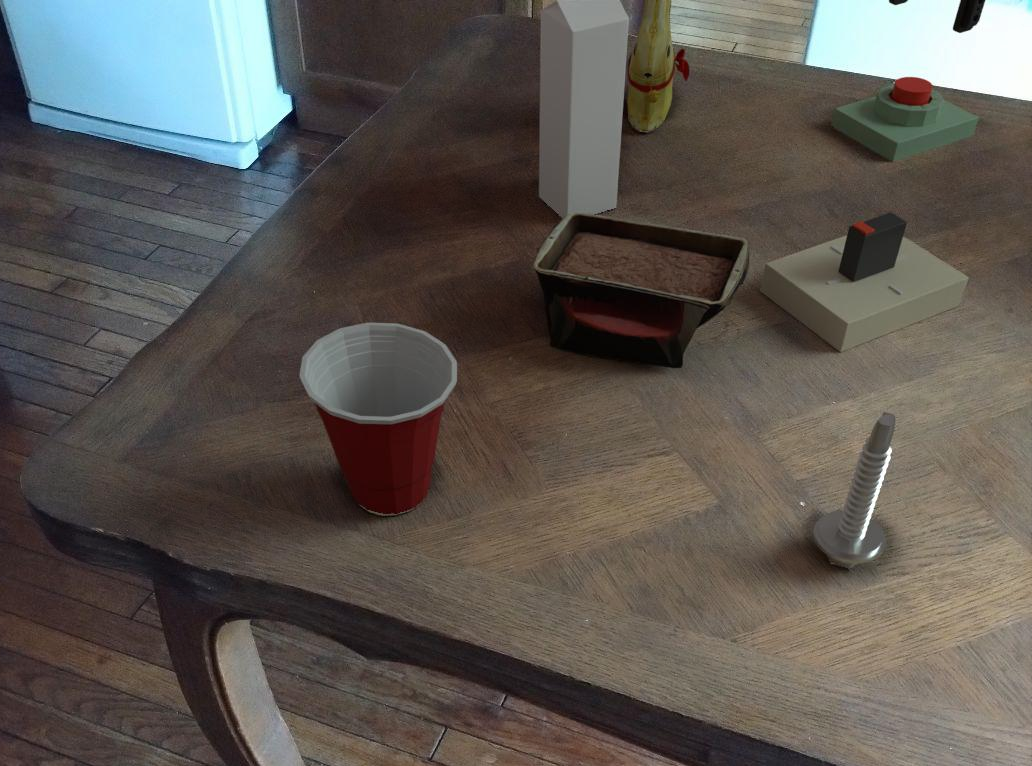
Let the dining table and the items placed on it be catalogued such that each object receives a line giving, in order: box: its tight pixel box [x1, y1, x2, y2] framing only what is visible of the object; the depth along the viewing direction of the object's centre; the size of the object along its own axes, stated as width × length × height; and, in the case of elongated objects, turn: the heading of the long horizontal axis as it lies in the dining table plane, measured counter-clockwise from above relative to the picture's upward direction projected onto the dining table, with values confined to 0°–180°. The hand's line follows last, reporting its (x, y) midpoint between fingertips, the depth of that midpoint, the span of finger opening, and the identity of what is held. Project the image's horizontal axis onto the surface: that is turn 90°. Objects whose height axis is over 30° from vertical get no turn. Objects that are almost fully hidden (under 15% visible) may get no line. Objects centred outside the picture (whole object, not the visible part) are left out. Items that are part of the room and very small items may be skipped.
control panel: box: [760, 234, 970, 353], centre depth 96 cm, size 14×11×3 cm
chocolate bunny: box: [626, 0, 690, 131], centre depth 118 cm, size 7×11×15 cm, turn 168°
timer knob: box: [838, 212, 908, 282], centre depth 93 cm, size 5×2×5 cm, turn 118°
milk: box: [538, 0, 630, 219], centre depth 102 cm, size 6×6×22 cm
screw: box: [812, 411, 896, 570], centre depth 71 cm, size 13×5×5 cm
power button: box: [891, 76, 933, 106], centre depth 117 cm, size 4×4×2 cm
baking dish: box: [532, 213, 751, 369], centre depth 92 cm, size 14×18×10 cm
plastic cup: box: [299, 322, 458, 514], centre depth 77 cm, size 11×11×12 cm
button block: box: [830, 83, 980, 163], centre depth 119 cm, size 12×10×4 cm
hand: (929, 16), depth 106 cm, fingers open, 8 cm apart
